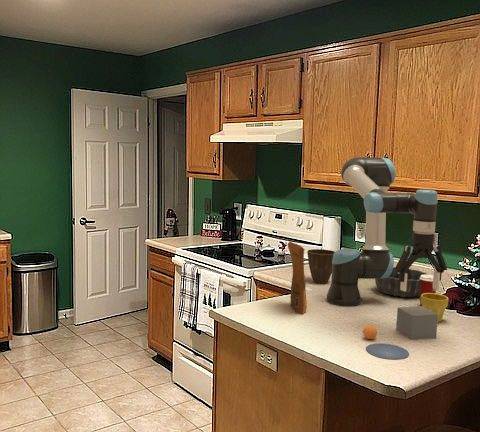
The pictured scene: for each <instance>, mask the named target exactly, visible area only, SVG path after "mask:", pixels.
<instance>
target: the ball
mask: <svg viewBox="0 0 480 432" xmlns="http://www.w3.org/2000/svg"><path fill="white" fill-rule="evenodd" d="M362 335H363V337H364V338H365V339H367V340H374V339H376V338H377V336H378V330H377V328H376V327H375V326H374V325H372V324H367V325H365V326H364V327H363V329H362Z"/></svg>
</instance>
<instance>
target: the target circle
mask: <svg viewBox="0 0 480 432" xmlns="http://www.w3.org/2000/svg"><path fill="white" fill-rule="evenodd" d="M365 351H366V352H367V353H368V354H370V355H371V356H374V357H376V358H379V359H384V360H392V361H393V360H394V361H395V360H397V361H398V360H403V359H406V358H408V357H409V356H410V352H409V351H408V350H407V349H406V348H404V347H402V346H399V345H396V344H391V343H380V342H379V343H371V344H368V345H367V346H365Z"/></svg>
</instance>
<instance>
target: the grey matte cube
mask: <svg viewBox="0 0 480 432" xmlns="http://www.w3.org/2000/svg"><path fill="white" fill-rule="evenodd" d="M437 321H438V314H436V313H434V312H432V311H430V310H428V309H426V308H424V307H422V306H420V305H419V306H402V307H401V306H400V307H397V313H396V327H395V330H396V331H397V332H399V333H400V334H402V335H404V336H405V337H407V338H408V339H410V340H423V339H424V340H425V339H426V340H427V339H435V338H437V333H438V332H437V330H438V322H437Z"/></svg>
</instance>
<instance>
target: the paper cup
mask: <svg viewBox="0 0 480 432" xmlns="http://www.w3.org/2000/svg"><path fill="white" fill-rule="evenodd" d="M433 276H434V274H429V275H421V277H420V296H419V306H422V304H421V295H422V294H424V293H435V294H437V290H436V289H433ZM422 307H423V306H422Z"/></svg>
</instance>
